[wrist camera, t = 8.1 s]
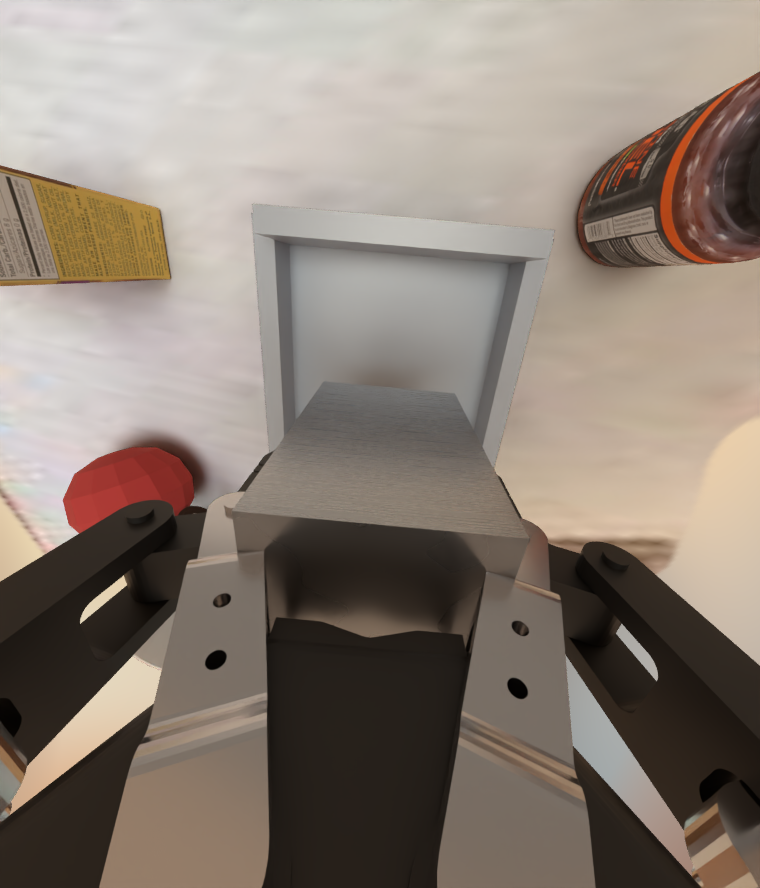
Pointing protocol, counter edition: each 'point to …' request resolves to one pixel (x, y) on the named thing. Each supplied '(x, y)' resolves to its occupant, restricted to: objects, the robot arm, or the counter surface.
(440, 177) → the counter surface
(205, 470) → the counter surface
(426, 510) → the steel block
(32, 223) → the candy box
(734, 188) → the supplement bottle
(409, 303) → the grey shallow tray
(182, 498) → the tomato
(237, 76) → the counter surface
